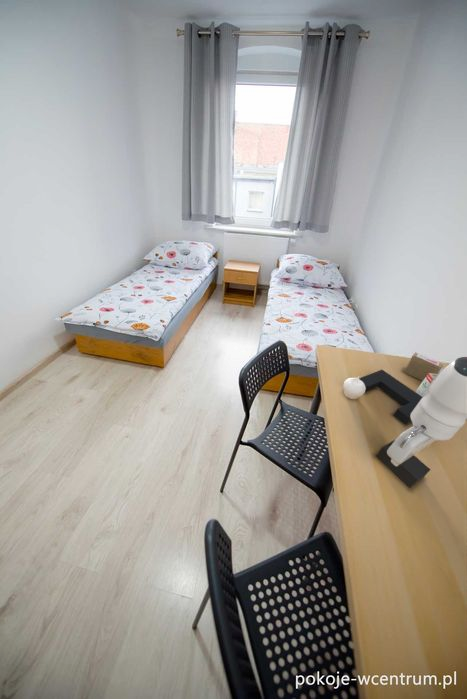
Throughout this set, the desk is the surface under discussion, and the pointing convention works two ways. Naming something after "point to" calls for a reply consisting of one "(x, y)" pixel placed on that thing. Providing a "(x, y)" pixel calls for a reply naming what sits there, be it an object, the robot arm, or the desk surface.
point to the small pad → (404, 467)
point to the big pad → (394, 393)
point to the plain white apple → (354, 388)
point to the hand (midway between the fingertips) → (405, 455)
